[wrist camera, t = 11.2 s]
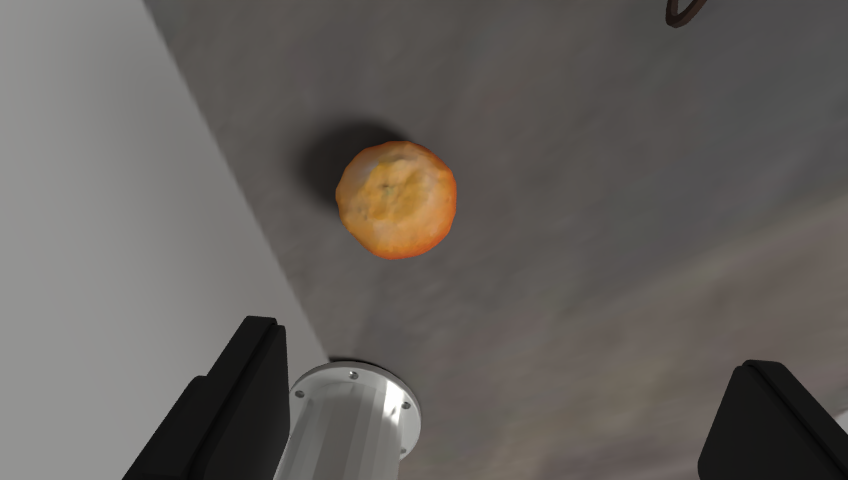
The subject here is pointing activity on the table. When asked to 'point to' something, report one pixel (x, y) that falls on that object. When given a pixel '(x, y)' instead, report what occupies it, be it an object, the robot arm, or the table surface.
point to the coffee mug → (686, 15)
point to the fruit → (397, 199)
